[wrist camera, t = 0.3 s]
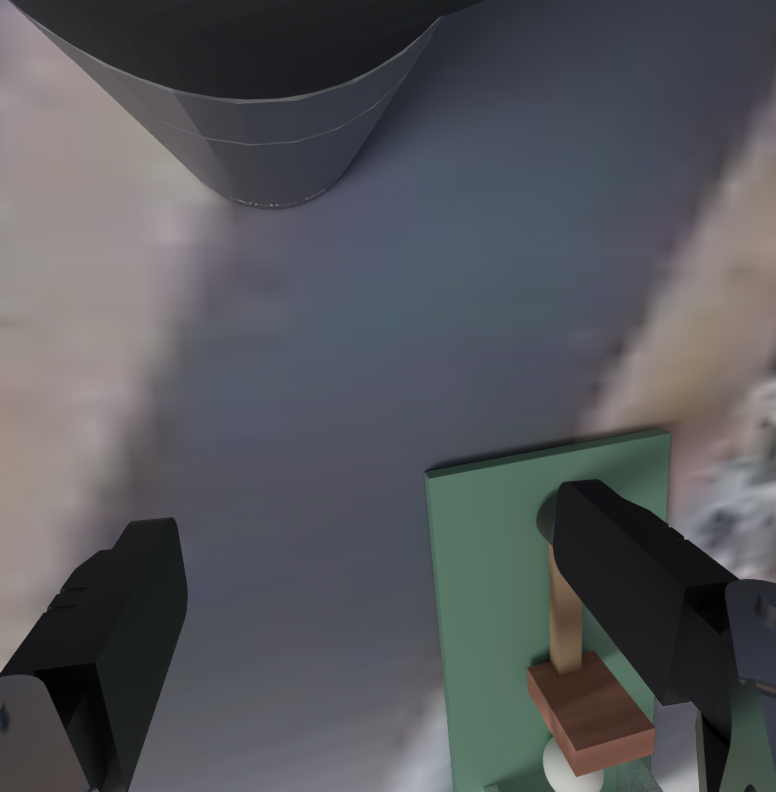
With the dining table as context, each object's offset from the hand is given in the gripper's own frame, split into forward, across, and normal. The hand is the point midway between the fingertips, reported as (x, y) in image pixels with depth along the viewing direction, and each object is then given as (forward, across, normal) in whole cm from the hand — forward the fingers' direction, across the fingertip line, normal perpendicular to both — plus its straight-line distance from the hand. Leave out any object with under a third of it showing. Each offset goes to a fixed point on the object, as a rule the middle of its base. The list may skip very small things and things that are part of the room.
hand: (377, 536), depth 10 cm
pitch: (+17, -14, +24) cm, 33 cm away
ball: (+14, -15, +29) cm, 36 cm away
